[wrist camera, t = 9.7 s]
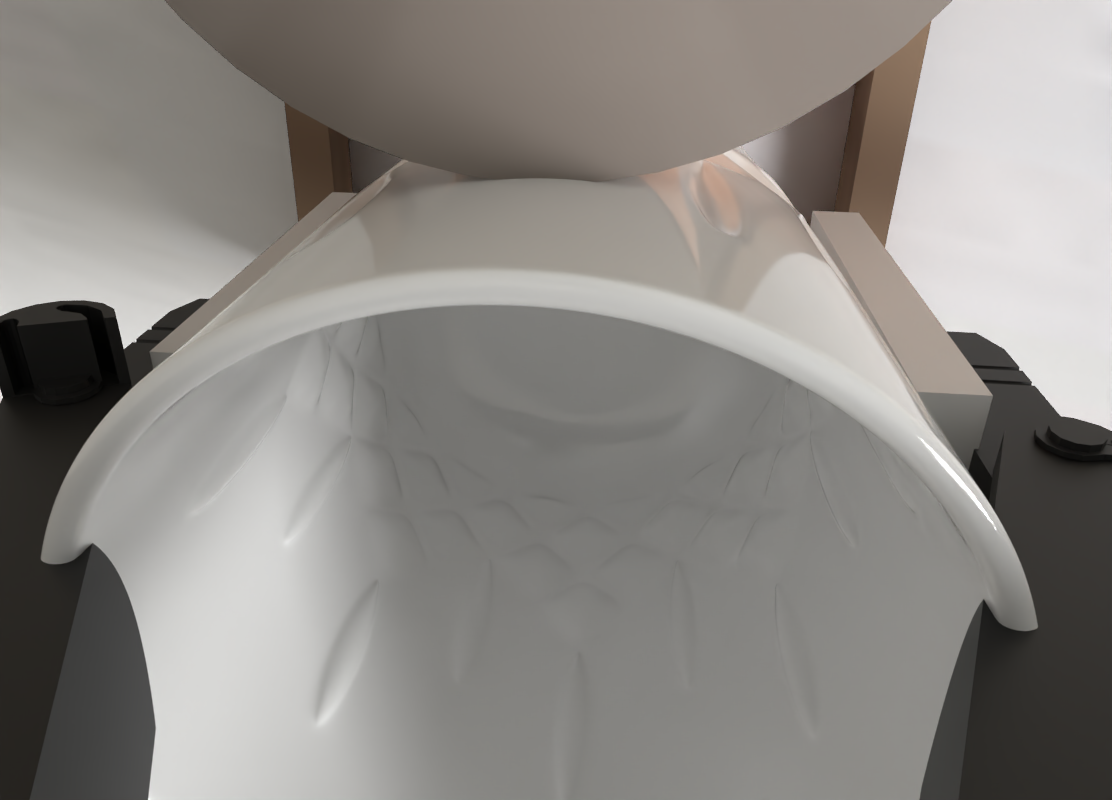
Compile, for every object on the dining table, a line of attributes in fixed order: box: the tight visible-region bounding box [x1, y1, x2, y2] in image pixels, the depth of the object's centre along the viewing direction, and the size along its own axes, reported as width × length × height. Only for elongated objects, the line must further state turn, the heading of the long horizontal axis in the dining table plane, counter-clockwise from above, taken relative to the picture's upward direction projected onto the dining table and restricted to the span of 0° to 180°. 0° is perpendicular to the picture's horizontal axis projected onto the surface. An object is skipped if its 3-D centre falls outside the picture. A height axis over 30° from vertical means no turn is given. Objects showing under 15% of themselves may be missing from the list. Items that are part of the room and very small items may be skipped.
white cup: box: [41, 146, 1038, 800], centre depth 12 cm, size 8×8×10 cm
